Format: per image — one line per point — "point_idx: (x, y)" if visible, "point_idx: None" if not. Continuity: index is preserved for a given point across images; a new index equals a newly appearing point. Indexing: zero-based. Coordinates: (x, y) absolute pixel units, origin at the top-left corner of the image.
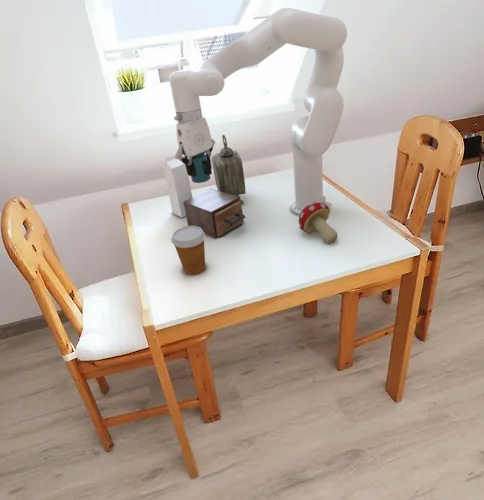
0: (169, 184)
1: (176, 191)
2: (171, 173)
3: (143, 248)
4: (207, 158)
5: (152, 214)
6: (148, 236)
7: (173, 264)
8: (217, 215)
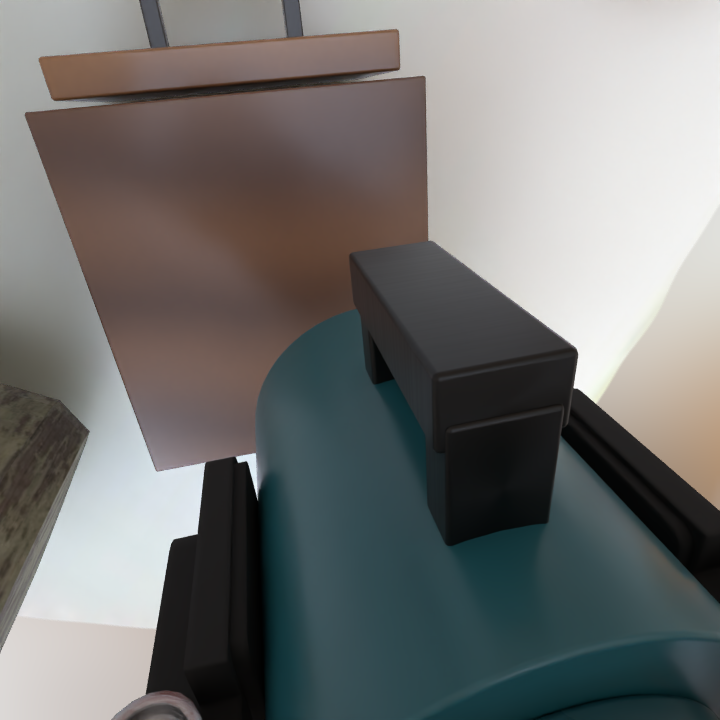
0: None
1: None
2: None
3: (628, 312)
4: (250, 651)
5: None
6: None
7: (684, 41)
8: (381, 30)
